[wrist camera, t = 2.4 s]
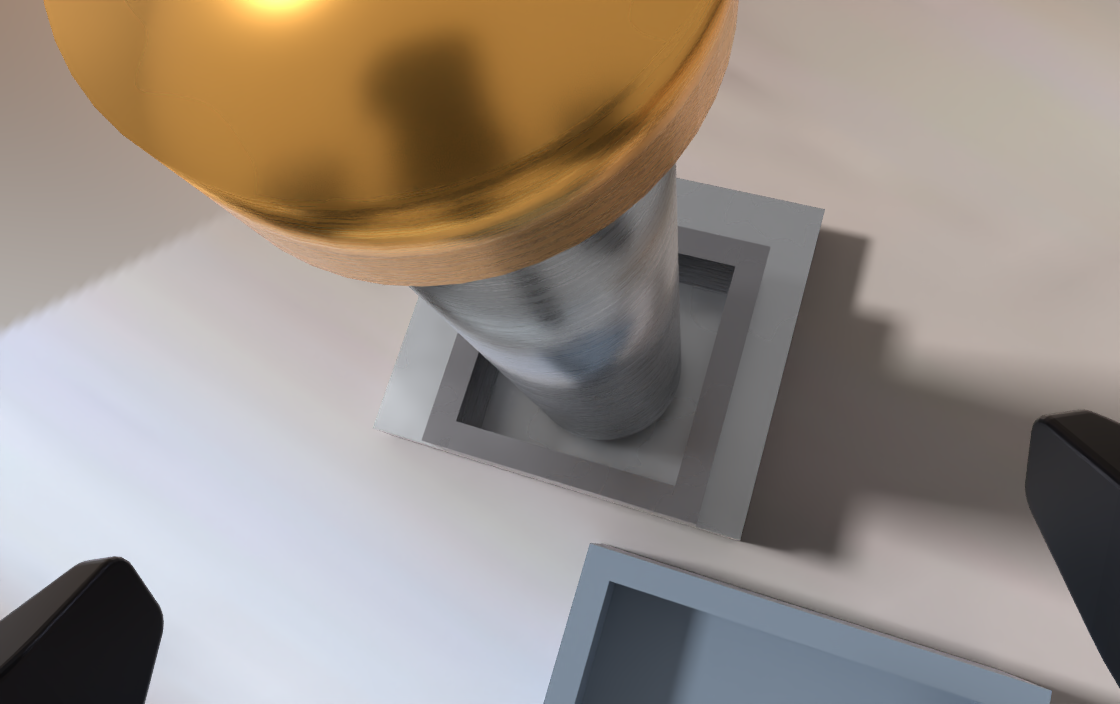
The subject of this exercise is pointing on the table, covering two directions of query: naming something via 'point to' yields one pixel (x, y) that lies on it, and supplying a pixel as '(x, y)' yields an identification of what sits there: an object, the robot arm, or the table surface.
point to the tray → (742, 648)
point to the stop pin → (444, 159)
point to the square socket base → (699, 402)
